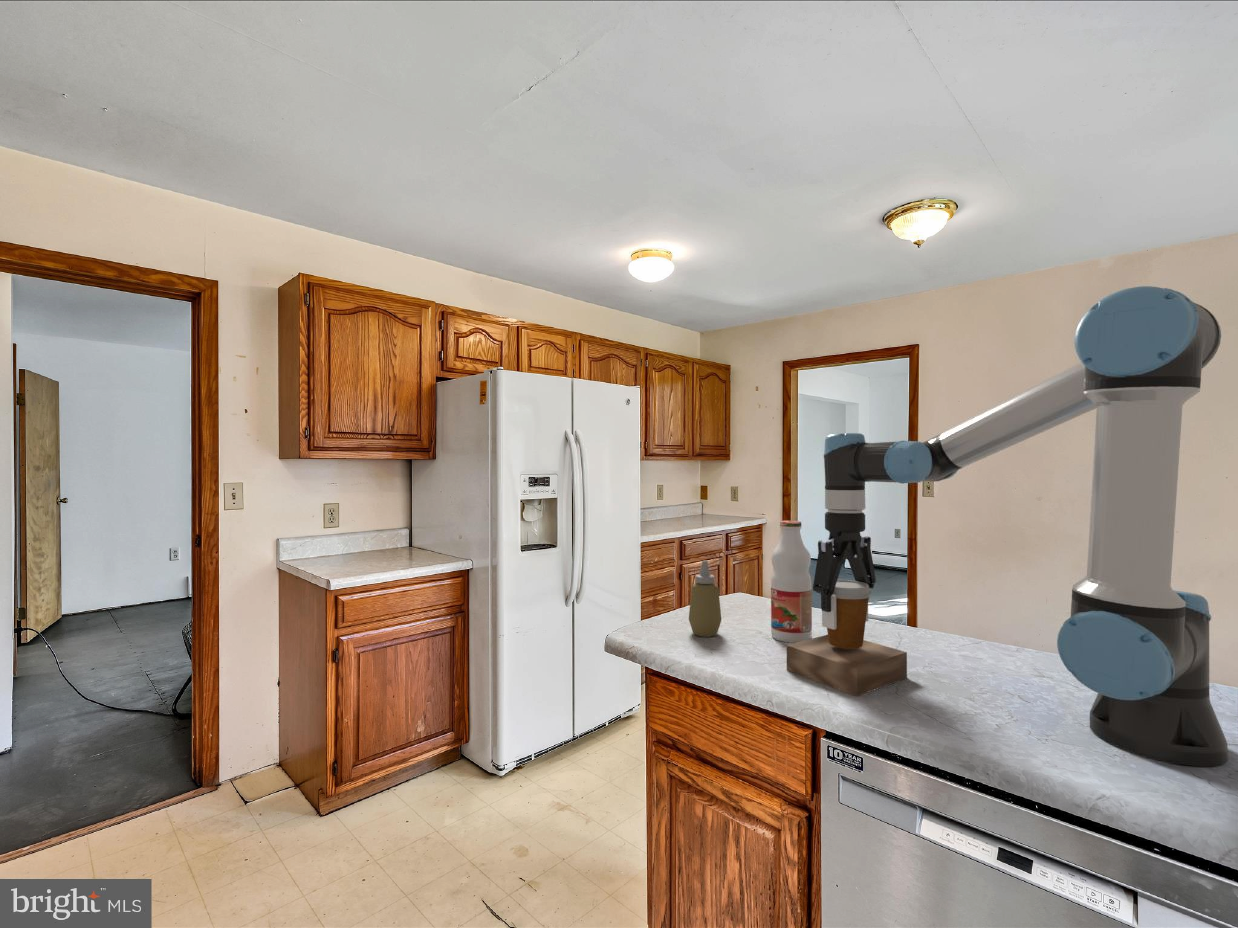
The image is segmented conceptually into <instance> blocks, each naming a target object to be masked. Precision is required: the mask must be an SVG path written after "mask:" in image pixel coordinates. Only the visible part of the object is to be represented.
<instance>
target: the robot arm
mask: <svg viewBox="0 0 1238 928" xmlns="http://www.w3.org/2000/svg"><path fill="white" fill-rule="evenodd" d="M1221 338H1222V332H1221V325H1220V324H1219V322H1218V320H1217V318H1216V316H1215V315H1214V313H1212V312H1210V310H1208V309H1207V308H1205V307H1204V306H1202V305H1200V304H1198V303H1196V302H1194V301H1193V300H1191V298H1189V297H1187V295H1185V294H1183V293H1181V292H1179V291H1177V290H1174V289H1172V288H1168V287H1158V286H1152V285H1151V286H1150V285H1149V286H1148V285H1147V286H1145V285H1143V286H1133V287H1129V288H1124V289H1122V290H1118V291H1116V292H1113V293H1110V294H1109V295H1107V296H1105V297H1103V298H1102V299H1101V300H1099V301H1098V302H1097V303H1094V305H1093V306H1092V307H1091V308H1088V310H1087V311H1086V313H1084V315H1083V316H1082V317H1081V319H1080V321H1079V322H1078V325H1077V327H1076V330H1075V333H1074V341H1073V342H1074V343H1073V344H1074V349H1075V352H1076V355H1077V357H1078V359H1079V361H1080V362H1078V363H1077V364H1074V365H1073V366H1071V367H1068V368H1067V369H1065V370H1063V371H1061V372H1059V373H1057V374H1055V375H1053V376H1051V377H1049V378H1048V379H1045V380H1043V381H1041V382H1040V383H1037V384H1034V385H1033V386H1031V387H1030V388H1027V389H1026V390H1024V391H1022V392H1020V393H1018V394H1016V395H1014V396H1012V397H1010V398H1008V399H1006V400H1004V401H1002V402H1000V403H998V404H996V405H994V406H992V407H990V408H988V409H987V410H984V411H982V412H980V413H978V414H977V415H975V416H972V417H971V418H968V419H967V420H965V421H963V422H961V423H959V424H957V425H955V426H953V427H951V428H949V429H946V431H943V432H942V433H940V434H937V435H935V436H934V437H931V438H930V439H927V440H926V441H922V442H921V441H917V440H916V441H911V440H899V441H881V442H866V439H865V435H864V434H863V433H859V432H858V433H857V432H855V433H854V432H850V433H849V432H848V433H831V434H828V435H827V436H826V437H825V438H824V453H823V461H824V462H823V463H824V466H823V467H824V484H825V485H824V509H826V510H827V511H826V512H824V528H825V531H828V532H829V535H828V538H827V539H828V540H818V541H817V551H818V553H817V559H816V567H815V572H814V579H813V584H812V591H813V592H815V593H817V594H820V605H821V606H820V608H821V626H822V627H823V628H826V629H827V628H830V629H833V630H835V629H836V595H833V592H834V589H835V586H836V583H837V580H839V575H840V574H841V569H842V566H843V564H845V563H846V560H847V562H848V564H849V567H850V571H851V573H852V575H853V577H854V581H859V582H863V583H866V584H868V585H869V589H873V588H875V584H876V582H877V578H876V574H875V573H876V572H875V567H874V562H873V555H872V548H871V546H872V545H871V544H872V543H871V542H872V539H871V537H870V536H866V535H865V536H864V535H861V533H862V532H864V531H865V530H866V514H865V512H863V511H864V510H865V509H866V482H867V483H869V482H874V483H877V482H878V483H899V484H912V483H922V482H940V481H944V480H947V479H950V478H952V477H954V476H955V475H956V474H957V472H958V471H959V470H961V469H963V468H965V467H967V466H969V465H971V464H972V465H973V464H974V463H976V462H978V461H981V460H983V459H985V458H987V457H989V456H992V455H994V454H996V453H999V452H1000V451H1003V450H1005V449H1007V448H1010V447H1012V446H1015V445H1017V444H1019V443H1021V442H1024V441H1026V440H1028V439H1030V438H1032V437H1034V436H1037V435H1039V434H1041V433H1045V431H1046V432H1047V431H1048V430H1050V429H1053V428H1055V427H1058V426H1059V425H1061V424H1064V423H1066V422H1069V421H1071V420H1073V419H1075V418H1077V417H1080V416H1082V415H1084V414H1085V415H1086V414H1087V413H1089V412H1091V411H1093V410H1096V413H1095V414H1096V415H1095V430H1094V431H1095V433H1094V445H1093V446H1094V447H1093V462H1092V463H1093V466H1092V479H1091V482H1092V483H1091V498H1090V499H1091V500H1090V514H1089V515H1090V516H1089V517H1090V518H1089V532H1088V547H1087V548H1088V549H1087V564H1086V567H1087V568H1086V575H1085V577H1084V578H1081V580H1079V581H1078V582H1075V583H1074V584H1073V585H1072V588H1071V602H1070V603H1071V605H1070V606H1071V607H1070V617H1068V618H1067V619H1066V620H1065V621H1064V622H1062V623H1063V624H1062V626H1061V627H1060V629H1059V632H1058V634H1057V637H1056V638H1057V639H1056V647H1057V652H1058V655H1059V657H1060V660H1061V662H1062V664H1063V665H1064V667H1065V668H1066V670H1067V671H1068V672H1069V673H1071V675H1072V676H1073V677H1074V678H1075V679H1076V681H1078V682H1079V683H1081V684H1082V685H1083V686H1085V687H1086V688H1088V689H1089V690H1091V691H1093V692H1095V693H1097V695H1096V696H1095V698H1094V702H1093V703H1092V706H1091V709H1090V711H1089V729H1090V730H1091V732H1092V733H1093V734H1095V735H1096V736H1097V737H1099V738H1100V739H1102V740H1104V741H1105V742H1107V743H1109V744H1110V745H1113V746H1115V747H1117V748H1120V749H1122V750H1125V751H1128V752H1130V753H1133V754H1136V755H1139V756H1142V757H1146V758H1149V759H1153V760H1156V761H1157V760H1158V761H1161V762H1166V763H1171V764H1177V765H1183V766H1184V765H1185V766H1192V767H1193V766H1194V767H1214V766H1216V767H1217V766H1220V765H1223V764H1225V763H1226V762H1227V761H1228V758H1229V756H1228V742H1227V738H1226V736H1225V734H1224V731H1223V729H1222V726H1221V724H1220V722H1219V719H1218V717H1217V715H1216V712H1215V710H1214V708H1213V706H1212V703H1211V699H1210V622H1211V620H1212V616H1211V613H1210V606H1209V602H1208V600H1207V599H1206V598H1205V597H1204V596H1202V595H1200V594H1197V593H1195V592H1194V593H1193V592H1188V591H1180V590H1176V589H1175V590H1173V588H1172V586H1171V584H1172V570H1173V556H1174V553H1173V552H1174V541H1175V538H1174V537H1175V526H1176V525H1175V524H1176V508H1177V494H1178V492H1177V491H1178V480H1179V479H1178V478H1179V476H1178V475H1179V464H1180V462H1179V461H1180V448H1181V433H1182V432H1181V431H1182V417H1183V406H1184V404H1185V403H1186V402H1187V401H1189V400H1190V399H1191V398H1193V397H1194V396H1195V395H1197V394H1198V393H1200V391H1201V383H1202V382H1201V381H1202V372H1203V371H1202V370H1203V368H1205V367H1206V366H1207V365H1208V364H1209V363H1210V362H1211V361H1212V360H1213V359H1214V357H1215V355H1216V354H1217V352H1218V349H1219V348H1220V345H1221ZM828 587H829V588H828ZM868 602H869V600H868ZM866 622H869V606H868V607H867V616H866Z"/></svg>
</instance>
